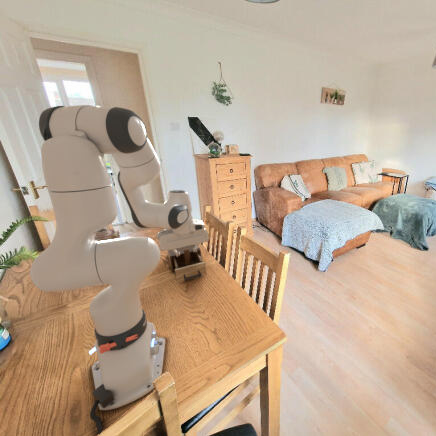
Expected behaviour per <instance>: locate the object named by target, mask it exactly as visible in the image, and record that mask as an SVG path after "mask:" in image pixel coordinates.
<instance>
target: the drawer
mask: <svg viewBox="0 0 436 436" xmlns="http://www.w3.org/2000/svg"><path fill="white" fill-rule="evenodd" d="M201 259H202V257H201V258H200V256H199V254H198V252H195V253H190V261H191V265H189V266H186V263H185V256H184V255H181V256H178V257H173V263H174V267H175V272H174V273H175V279H176V284H181V283H185V282H188V281H191V280H195V279H198V278H202V277H205V276H207V268H206V267H207V266H206V262H205V261H203V260H201Z"/></svg>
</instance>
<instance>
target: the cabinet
mask: <svg viewBox="0 0 436 436" xmlns="http://www.w3.org/2000/svg"><path fill="white" fill-rule="evenodd" d="M194 247H195V245H190V246H185V247H181V248H176V251H179V252H180V256H181V255H184V248H189V254H190V253H194V252H193V248H194ZM197 252H198V254H199V256H200V258H201V260H202V251H201V248H200V245H199V246H198V248H197ZM166 254H167V258H168V261H169V265H170V269H171V272H172V273H175V267H174V263H173V257H177V256H176V253H175V252H173V250H172V249H171V250H167V251H166ZM202 261H203V260H202Z"/></svg>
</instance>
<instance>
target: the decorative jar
mask: <svg viewBox="0 0 436 436" xmlns="http://www.w3.org/2000/svg"><path fill="white" fill-rule="evenodd" d="M118 238H121V235H120V232H119V230H117V229H112V228H107V227H105V228H103V229H101V230H99V231H97V232H96V233H94V239H95V240H96V241H104V240H111V239H118Z"/></svg>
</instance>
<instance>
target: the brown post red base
mask: <svg viewBox="0 0 436 436" xmlns="http://www.w3.org/2000/svg"><path fill="white" fill-rule="evenodd" d="M184 256H185V263H186V266H189V265H191V261H190V254H189V248H184Z"/></svg>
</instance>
